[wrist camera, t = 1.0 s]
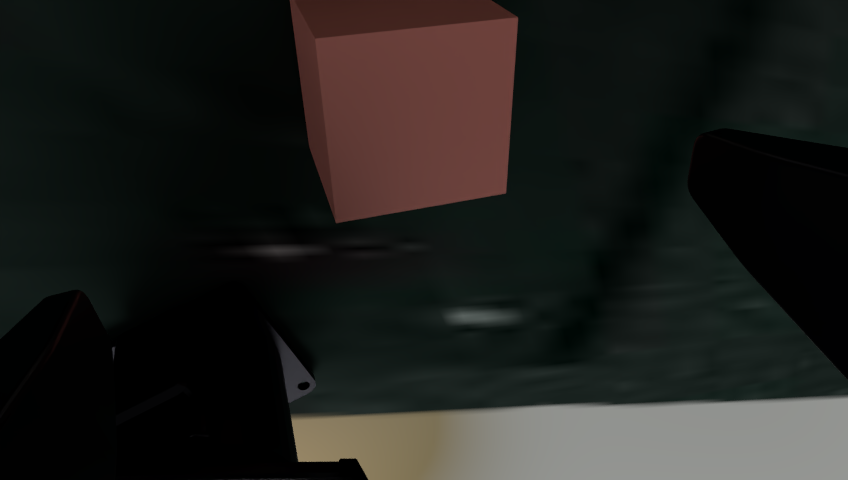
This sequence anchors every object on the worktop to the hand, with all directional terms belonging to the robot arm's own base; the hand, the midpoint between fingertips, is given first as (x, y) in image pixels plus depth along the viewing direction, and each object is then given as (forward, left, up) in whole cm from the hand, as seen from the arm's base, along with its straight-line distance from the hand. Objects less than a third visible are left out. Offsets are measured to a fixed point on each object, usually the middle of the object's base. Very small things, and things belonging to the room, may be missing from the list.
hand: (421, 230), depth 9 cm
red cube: (-2, -1, -12) cm, 13 cm away
